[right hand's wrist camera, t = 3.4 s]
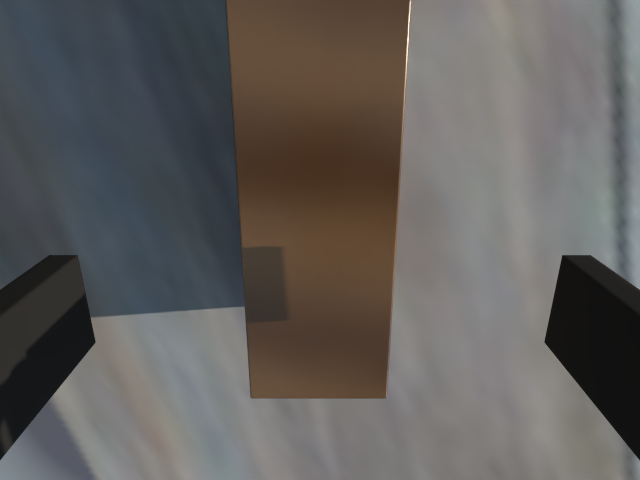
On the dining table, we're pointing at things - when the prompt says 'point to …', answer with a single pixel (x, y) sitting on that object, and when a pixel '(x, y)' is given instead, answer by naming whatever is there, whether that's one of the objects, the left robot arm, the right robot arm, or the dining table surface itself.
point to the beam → (318, 188)
